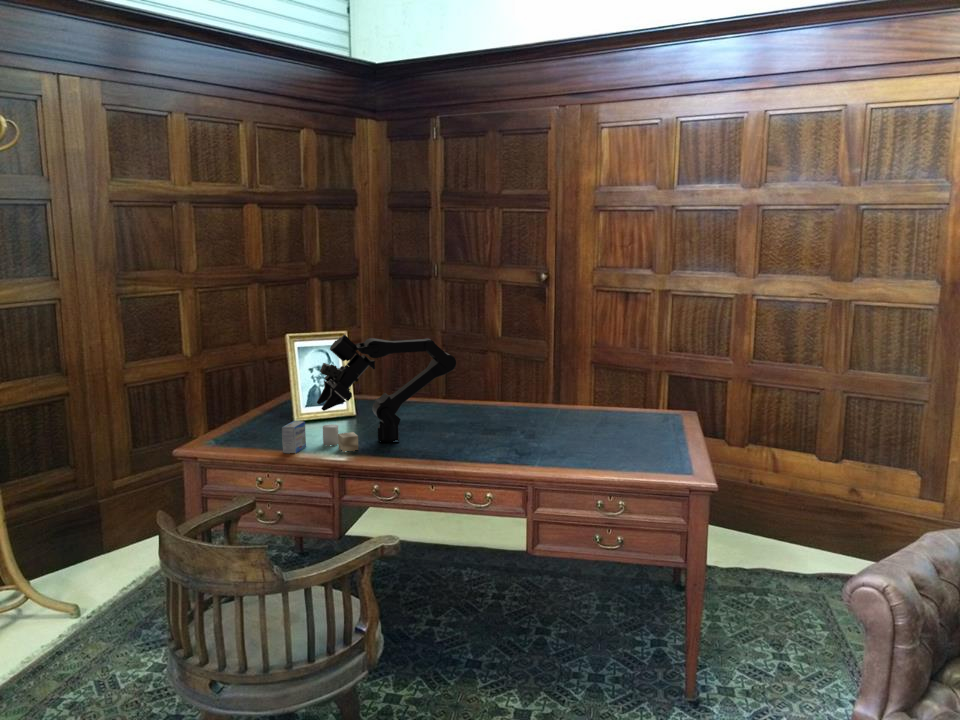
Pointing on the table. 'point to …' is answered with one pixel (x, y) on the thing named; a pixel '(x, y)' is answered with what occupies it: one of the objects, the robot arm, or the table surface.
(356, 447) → the beech cube
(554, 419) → the table surface
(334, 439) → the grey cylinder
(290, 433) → the medicine box
